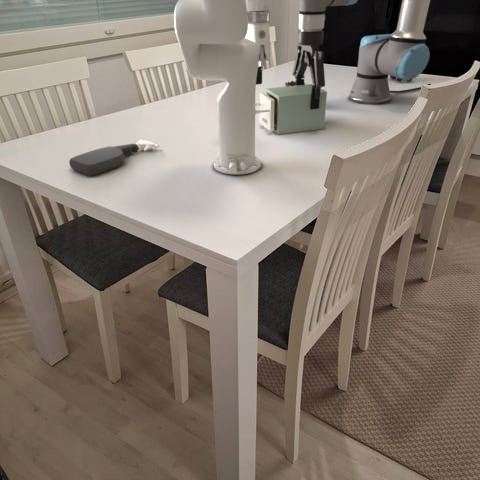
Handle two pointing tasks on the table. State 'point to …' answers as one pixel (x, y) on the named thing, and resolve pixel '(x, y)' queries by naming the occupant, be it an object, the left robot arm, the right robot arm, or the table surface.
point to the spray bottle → (106, 157)
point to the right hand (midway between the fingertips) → (306, 104)
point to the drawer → (268, 111)
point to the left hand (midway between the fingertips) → (256, 83)
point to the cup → (291, 83)
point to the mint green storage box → (298, 109)
